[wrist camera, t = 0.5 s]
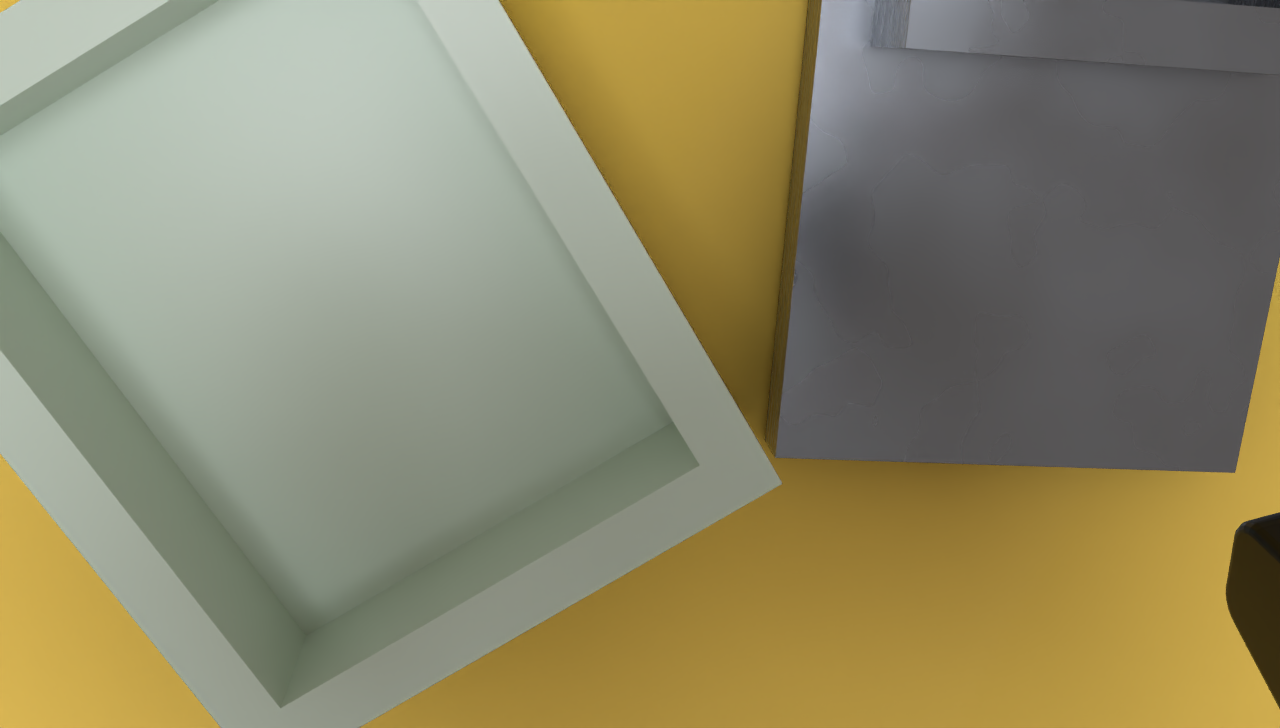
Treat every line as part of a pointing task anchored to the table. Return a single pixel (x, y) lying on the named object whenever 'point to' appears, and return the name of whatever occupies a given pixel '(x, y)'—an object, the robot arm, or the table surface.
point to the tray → (335, 342)
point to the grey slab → (1029, 232)
